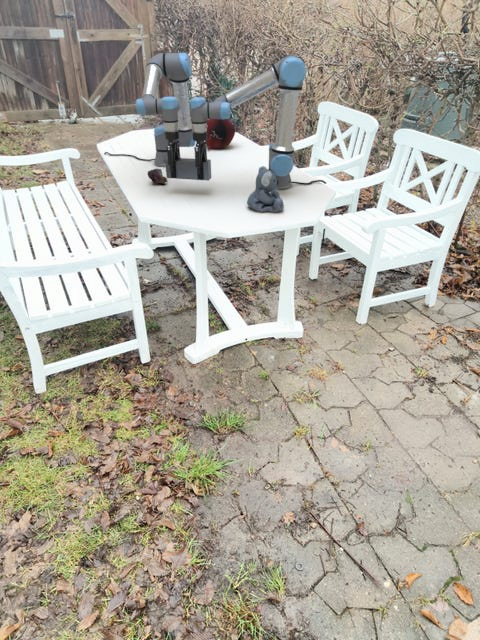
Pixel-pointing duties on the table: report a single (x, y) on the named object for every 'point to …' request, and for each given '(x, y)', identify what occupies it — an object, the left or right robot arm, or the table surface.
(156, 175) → the rock
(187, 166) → the bar
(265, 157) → the table surface
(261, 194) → the koala plush
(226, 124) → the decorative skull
